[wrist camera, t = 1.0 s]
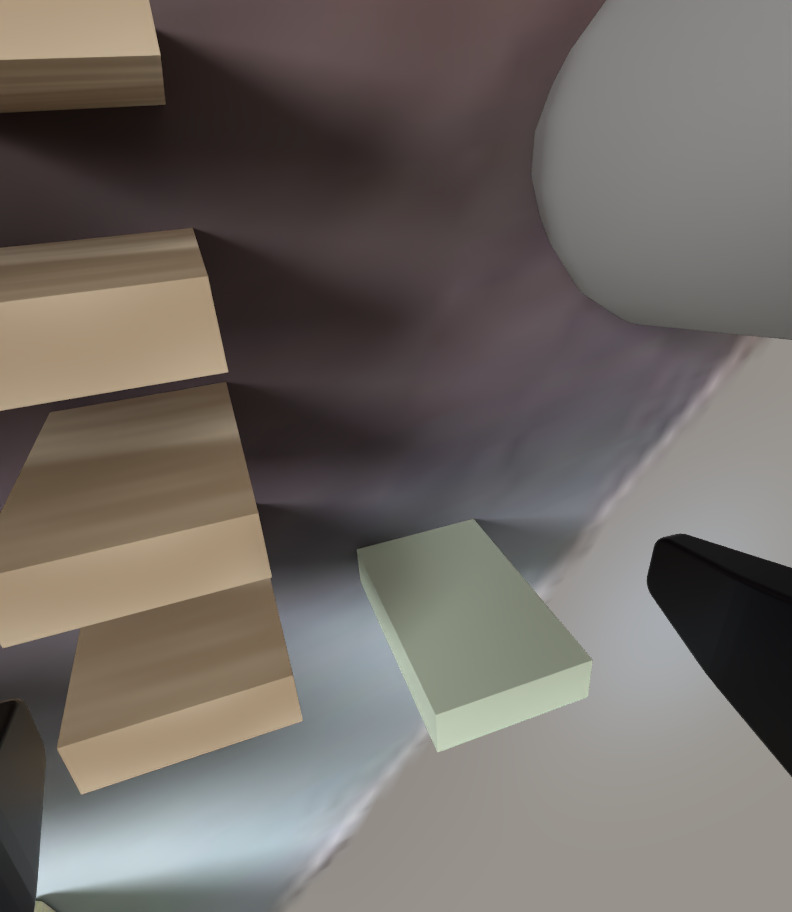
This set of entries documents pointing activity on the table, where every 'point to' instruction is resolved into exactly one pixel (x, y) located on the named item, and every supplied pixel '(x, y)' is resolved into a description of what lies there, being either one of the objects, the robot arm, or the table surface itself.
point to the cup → (675, 164)
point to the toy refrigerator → (42, 907)
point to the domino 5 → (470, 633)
